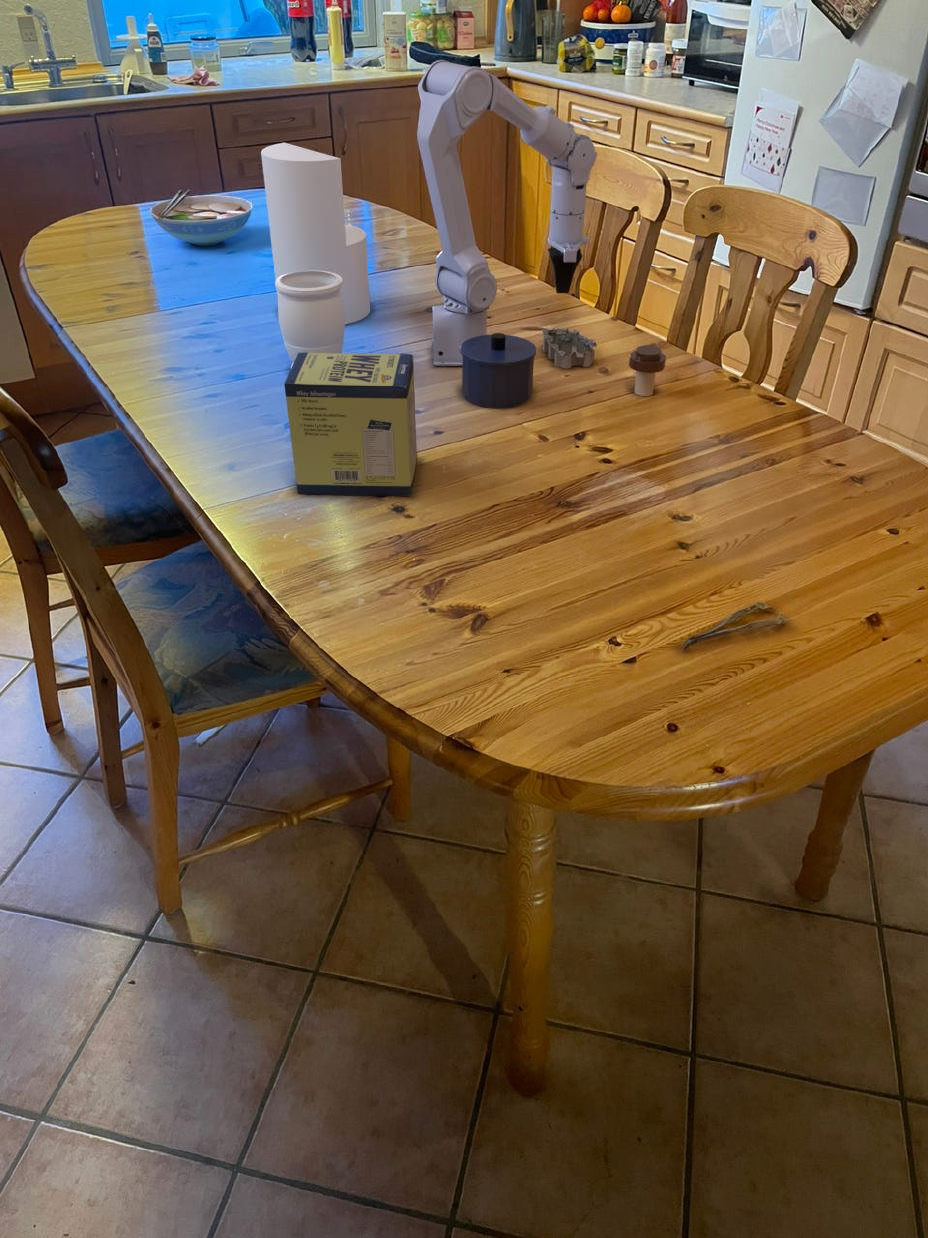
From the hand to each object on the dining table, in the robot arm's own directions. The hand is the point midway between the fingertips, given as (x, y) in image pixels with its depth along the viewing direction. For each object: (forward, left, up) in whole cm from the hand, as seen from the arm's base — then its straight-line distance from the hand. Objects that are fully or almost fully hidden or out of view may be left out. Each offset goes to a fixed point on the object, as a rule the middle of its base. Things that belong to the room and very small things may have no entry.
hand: (562, 291), depth 168 cm
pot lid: (-13, -27, 0) cm, 30 cm away
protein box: (-34, -54, -8) cm, 64 cm away
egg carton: (0, -12, -8) cm, 14 cm away
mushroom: (+10, -27, -7) cm, 29 cm away
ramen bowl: (-75, +59, -8) cm, 96 cm away
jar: (-43, -17, -8) cm, 46 cm away
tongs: (+8, -90, -8) cm, 90 cm away
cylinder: (-44, +12, -8) cm, 46 cm away
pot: (-13, -27, -7) cm, 30 cm away
